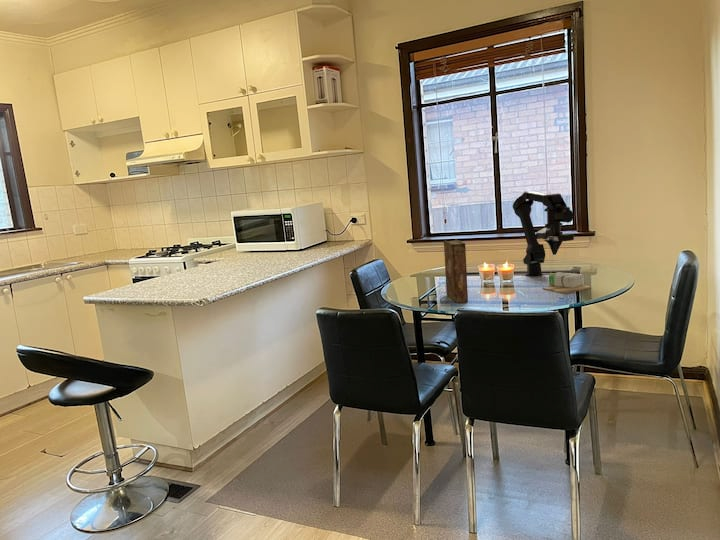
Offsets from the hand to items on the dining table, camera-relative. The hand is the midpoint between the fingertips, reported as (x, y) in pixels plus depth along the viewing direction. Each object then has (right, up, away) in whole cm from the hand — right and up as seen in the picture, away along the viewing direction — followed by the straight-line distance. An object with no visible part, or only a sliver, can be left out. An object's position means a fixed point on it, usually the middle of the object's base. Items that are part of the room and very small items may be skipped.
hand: (554, 254), depth 251 cm
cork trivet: (0, -15, -14) cm, 21 cm away
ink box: (-3, -11, -7) cm, 13 cm away
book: (-48, -20, -16) cm, 55 cm away
